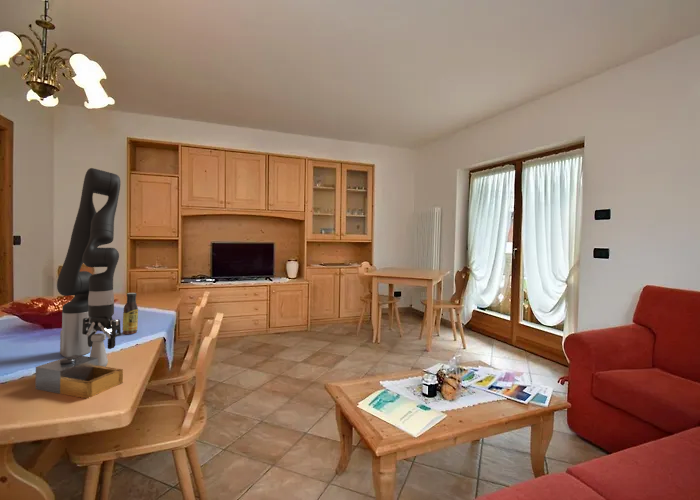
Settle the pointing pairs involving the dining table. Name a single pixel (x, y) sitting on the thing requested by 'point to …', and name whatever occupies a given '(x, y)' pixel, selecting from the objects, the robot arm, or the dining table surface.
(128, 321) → the sauce bottle
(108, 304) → the robot arm
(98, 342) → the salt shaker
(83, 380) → the wooden open box
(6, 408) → the dining table surface
